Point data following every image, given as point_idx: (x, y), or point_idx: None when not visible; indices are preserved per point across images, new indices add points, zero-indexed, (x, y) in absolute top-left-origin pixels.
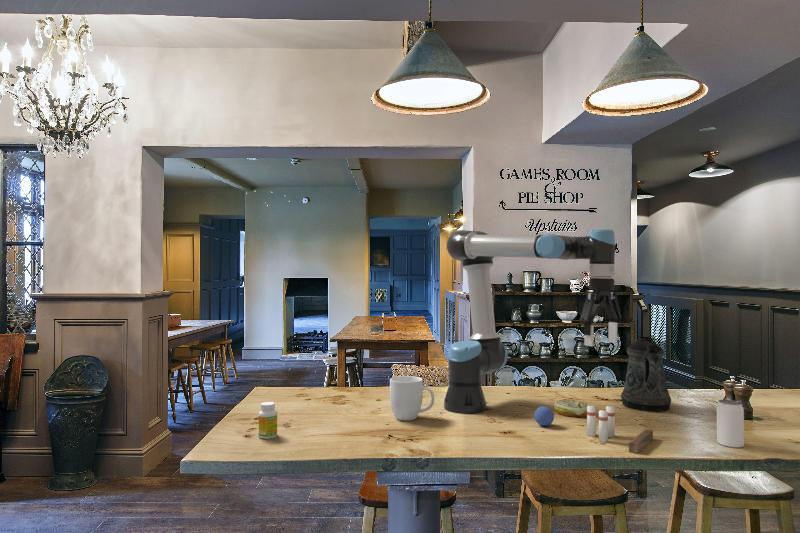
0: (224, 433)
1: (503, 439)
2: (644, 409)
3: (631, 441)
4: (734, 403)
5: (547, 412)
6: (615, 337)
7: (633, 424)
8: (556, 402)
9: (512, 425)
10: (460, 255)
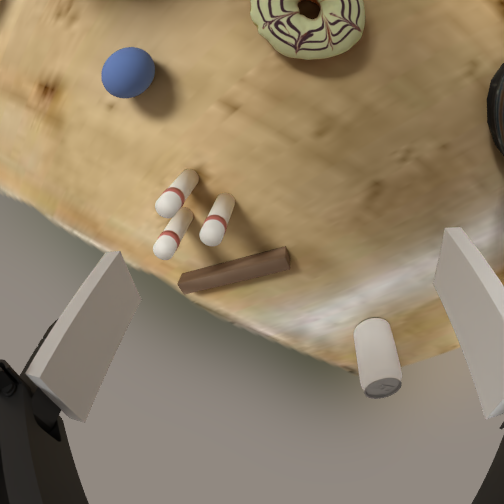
0: None
1: (28, 126)
2: (491, 132)
3: (187, 283)
4: (384, 390)
5: (115, 94)
6: (448, 307)
7: (361, 175)
8: None
9: (80, 47)
10: None
